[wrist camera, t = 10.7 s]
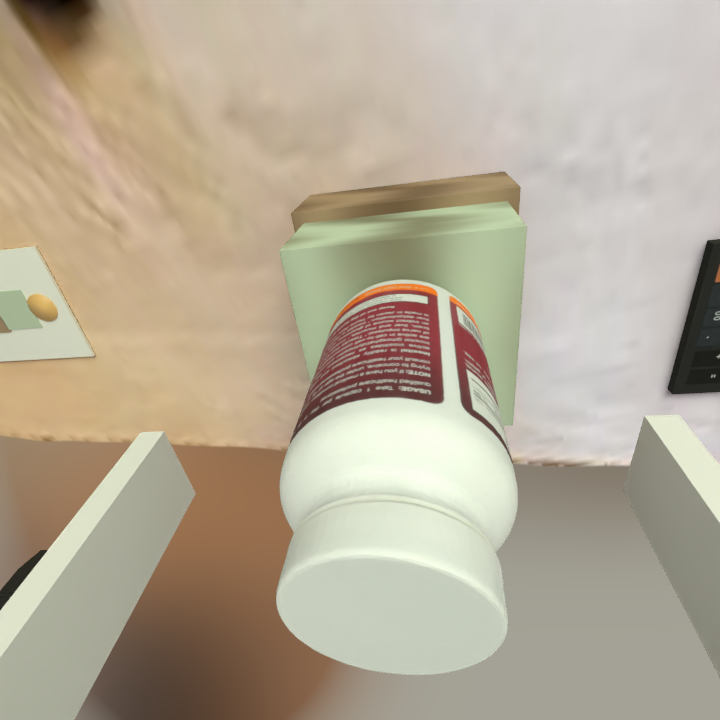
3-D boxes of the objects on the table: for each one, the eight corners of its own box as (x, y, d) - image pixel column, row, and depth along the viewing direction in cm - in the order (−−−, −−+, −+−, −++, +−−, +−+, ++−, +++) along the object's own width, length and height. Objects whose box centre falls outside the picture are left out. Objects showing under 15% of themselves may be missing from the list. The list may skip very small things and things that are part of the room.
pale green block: (340, 353, 28) (314, 437, 21) (310, 195, 23) (263, 239, 16) (497, 345, 26) (523, 433, 19) (504, 171, 21) (543, 209, 14)
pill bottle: (313, 372, 19) (209, 639, 10) (361, 248, 16) (273, 477, 6) (438, 420, 20) (452, 714, 10) (511, 311, 16) (627, 602, 7)
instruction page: (-19, 361, 32) (-23, 363, 32) (-91, 260, 28) (-96, 262, 28) (95, 354, 30) (92, 356, 30) (36, 246, 26) (32, 247, 26)
